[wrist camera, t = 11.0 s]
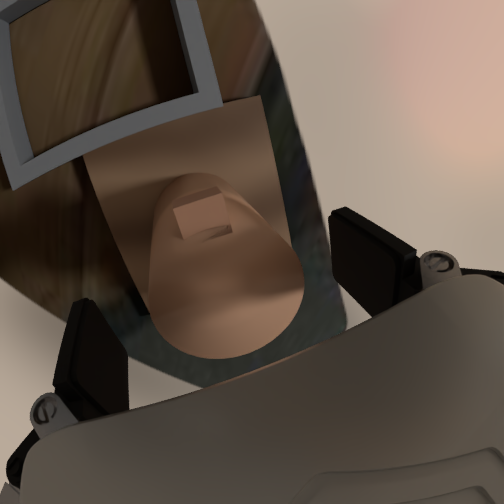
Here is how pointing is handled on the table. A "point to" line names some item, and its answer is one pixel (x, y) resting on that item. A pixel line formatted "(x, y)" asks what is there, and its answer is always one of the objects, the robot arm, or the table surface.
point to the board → (184, 173)
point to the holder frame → (28, 168)
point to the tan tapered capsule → (218, 271)
